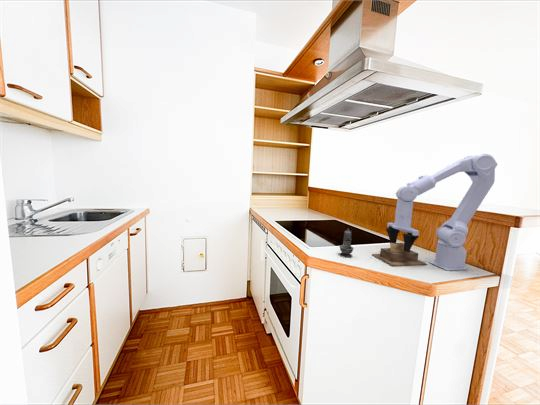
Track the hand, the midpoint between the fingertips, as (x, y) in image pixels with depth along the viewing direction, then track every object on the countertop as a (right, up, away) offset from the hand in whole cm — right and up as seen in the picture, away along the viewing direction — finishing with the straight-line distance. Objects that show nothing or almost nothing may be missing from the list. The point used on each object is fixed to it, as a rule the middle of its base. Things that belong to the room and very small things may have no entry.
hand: (399, 247), depth 93 cm
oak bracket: (-1, -4, +1) cm, 4 cm away
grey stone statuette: (-21, -4, +3) cm, 22 cm away
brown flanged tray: (0, -5, +1) cm, 5 cm away
